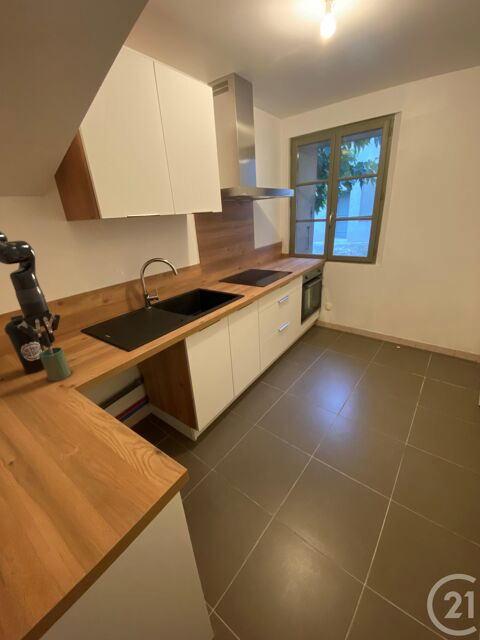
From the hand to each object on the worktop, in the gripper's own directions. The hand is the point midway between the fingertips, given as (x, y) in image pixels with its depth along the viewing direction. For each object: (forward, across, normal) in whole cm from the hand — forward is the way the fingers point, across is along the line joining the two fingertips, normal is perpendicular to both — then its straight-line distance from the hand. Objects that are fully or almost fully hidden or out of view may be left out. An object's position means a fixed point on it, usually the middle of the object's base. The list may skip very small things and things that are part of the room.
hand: (47, 343), depth 99 cm
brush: (+11, 0, 0) cm, 11 cm away
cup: (+14, 0, 0) cm, 14 cm away
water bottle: (+15, +2, -16) cm, 22 cm away
